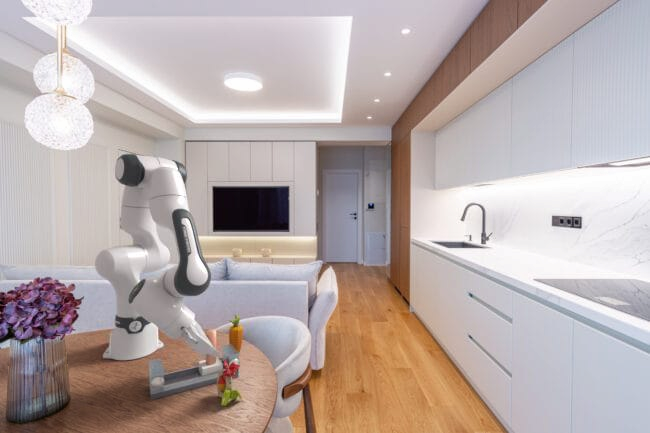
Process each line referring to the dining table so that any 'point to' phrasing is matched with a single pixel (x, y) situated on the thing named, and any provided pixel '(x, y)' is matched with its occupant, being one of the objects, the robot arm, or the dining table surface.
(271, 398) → the dining table surface
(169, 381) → the rail track
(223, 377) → the decorative toy figure
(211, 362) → the carriage
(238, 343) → the carrot
